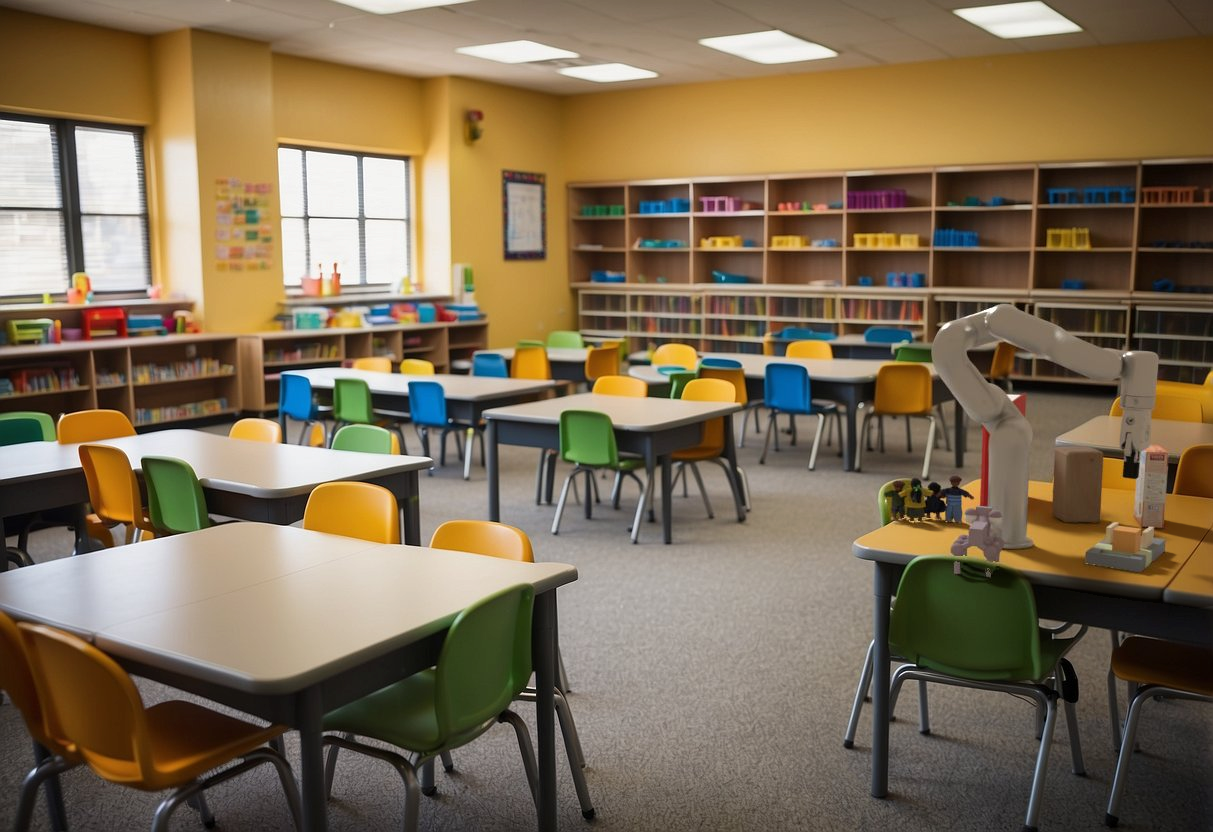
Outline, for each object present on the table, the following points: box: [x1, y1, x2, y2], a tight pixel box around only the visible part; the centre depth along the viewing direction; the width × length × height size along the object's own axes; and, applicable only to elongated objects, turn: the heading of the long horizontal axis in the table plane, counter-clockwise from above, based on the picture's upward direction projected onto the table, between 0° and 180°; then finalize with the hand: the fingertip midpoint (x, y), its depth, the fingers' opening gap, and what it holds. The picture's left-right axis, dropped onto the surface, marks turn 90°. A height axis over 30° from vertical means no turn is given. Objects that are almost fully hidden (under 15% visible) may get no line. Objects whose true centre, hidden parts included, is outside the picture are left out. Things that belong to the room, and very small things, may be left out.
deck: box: [1084, 521, 1167, 573], centre depth 260 cm, size 24×12×7 cm, turn 141°
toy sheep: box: [950, 505, 1004, 578], centre depth 254 cm, size 20×11×14 cm, turn 153°
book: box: [979, 392, 1027, 507], centre depth 321 cm, size 27×8×32 cm, turn 151°
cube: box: [1112, 525, 1142, 554], centre depth 256 cm, size 5×5×5 cm
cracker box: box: [1133, 444, 1170, 530], centre depth 294 cm, size 14×6×21 cm, turn 161°
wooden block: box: [1051, 445, 1104, 523], centre depth 299 cm, size 10×10×20 cm
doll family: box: [883, 475, 975, 524], centre depth 300 cm, size 23×9×13 cm, turn 92°
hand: (1130, 477), depth 261 cm, fingers closed
